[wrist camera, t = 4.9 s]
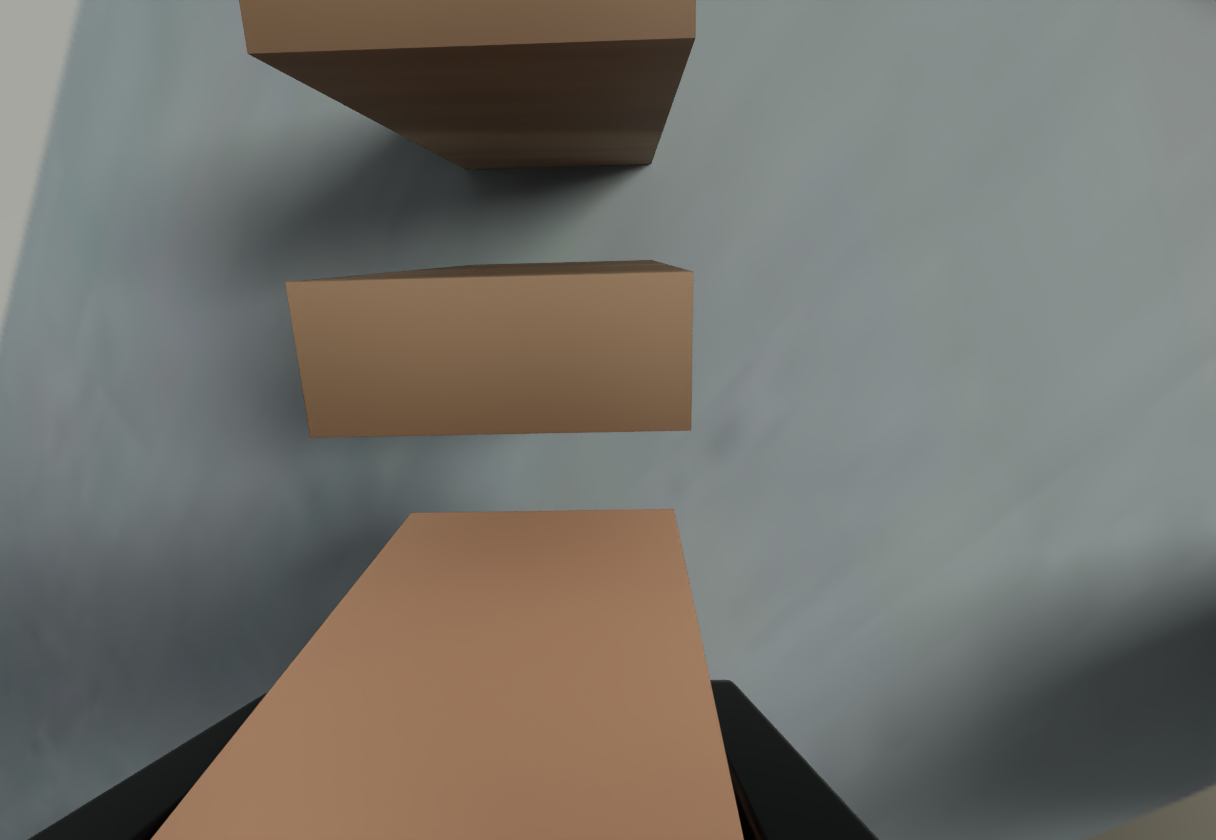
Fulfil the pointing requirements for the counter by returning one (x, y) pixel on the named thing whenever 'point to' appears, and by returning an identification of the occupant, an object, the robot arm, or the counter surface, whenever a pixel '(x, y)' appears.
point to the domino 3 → (489, 696)
